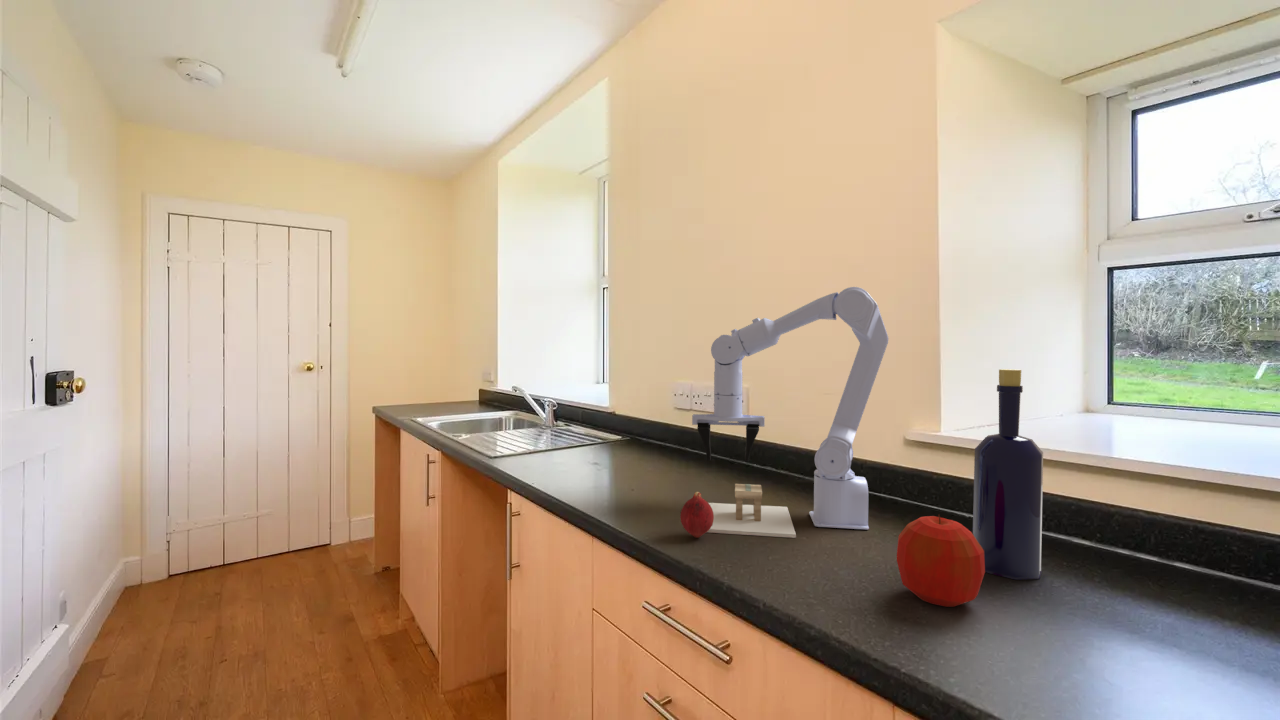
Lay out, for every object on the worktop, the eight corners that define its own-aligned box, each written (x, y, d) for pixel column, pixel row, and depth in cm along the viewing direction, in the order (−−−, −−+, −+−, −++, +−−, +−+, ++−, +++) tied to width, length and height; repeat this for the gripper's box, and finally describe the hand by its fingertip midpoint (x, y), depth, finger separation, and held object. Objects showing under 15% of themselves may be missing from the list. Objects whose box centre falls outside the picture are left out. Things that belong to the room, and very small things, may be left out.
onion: (712, 545, 90) (712, 498, 90) (678, 542, 91) (678, 496, 91) (714, 533, 95) (714, 488, 95) (682, 530, 97) (682, 487, 96)
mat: (787, 509, 109) (787, 506, 109) (795, 537, 93) (795, 534, 93) (708, 505, 112) (708, 502, 112) (703, 532, 96) (703, 528, 96)
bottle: (1030, 559, 84) (1035, 368, 83) (1054, 584, 75) (1059, 371, 74) (963, 552, 87) (967, 367, 86) (979, 575, 78) (983, 370, 77)
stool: (762, 521, 100) (762, 491, 100) (734, 520, 101) (735, 490, 101) (760, 513, 105) (761, 484, 105) (734, 511, 106) (735, 483, 105)
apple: (898, 610, 68) (900, 520, 68) (892, 578, 77) (894, 499, 77) (992, 626, 64) (994, 531, 64) (974, 590, 74) (975, 507, 73)
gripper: (763, 393, 112) (763, 457, 112) (694, 391, 115) (693, 454, 115) (765, 396, 105) (764, 465, 105) (691, 395, 108) (691, 462, 108)
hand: (727, 460), depth 110 cm, fingers open, 7 cm apart
